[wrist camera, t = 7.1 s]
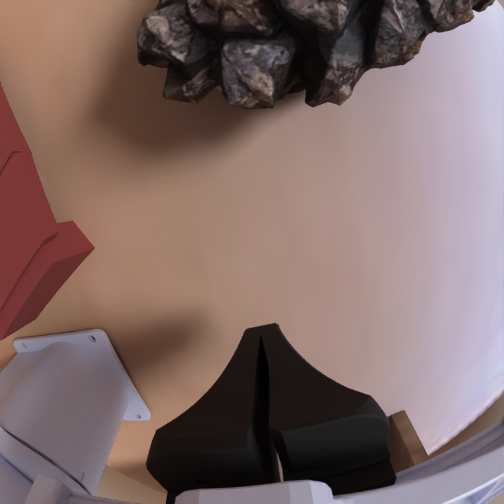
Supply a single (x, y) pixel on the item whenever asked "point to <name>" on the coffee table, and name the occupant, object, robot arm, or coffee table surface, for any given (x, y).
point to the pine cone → (287, 44)
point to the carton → (29, 234)
